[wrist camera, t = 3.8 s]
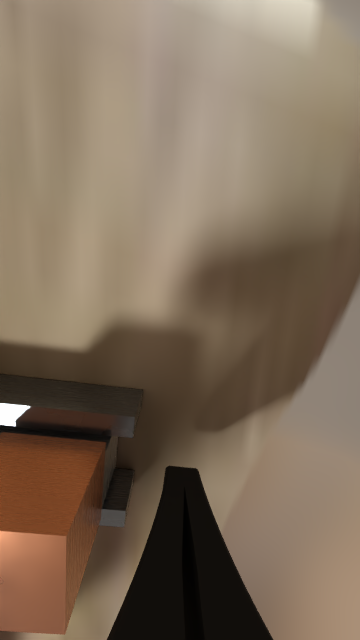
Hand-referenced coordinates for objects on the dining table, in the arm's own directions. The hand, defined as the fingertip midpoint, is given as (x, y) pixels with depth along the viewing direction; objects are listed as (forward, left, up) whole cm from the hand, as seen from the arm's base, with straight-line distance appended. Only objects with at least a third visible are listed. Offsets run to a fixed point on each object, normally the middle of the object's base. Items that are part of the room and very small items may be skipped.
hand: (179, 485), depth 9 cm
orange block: (0, +9, -2) cm, 9 cm away
